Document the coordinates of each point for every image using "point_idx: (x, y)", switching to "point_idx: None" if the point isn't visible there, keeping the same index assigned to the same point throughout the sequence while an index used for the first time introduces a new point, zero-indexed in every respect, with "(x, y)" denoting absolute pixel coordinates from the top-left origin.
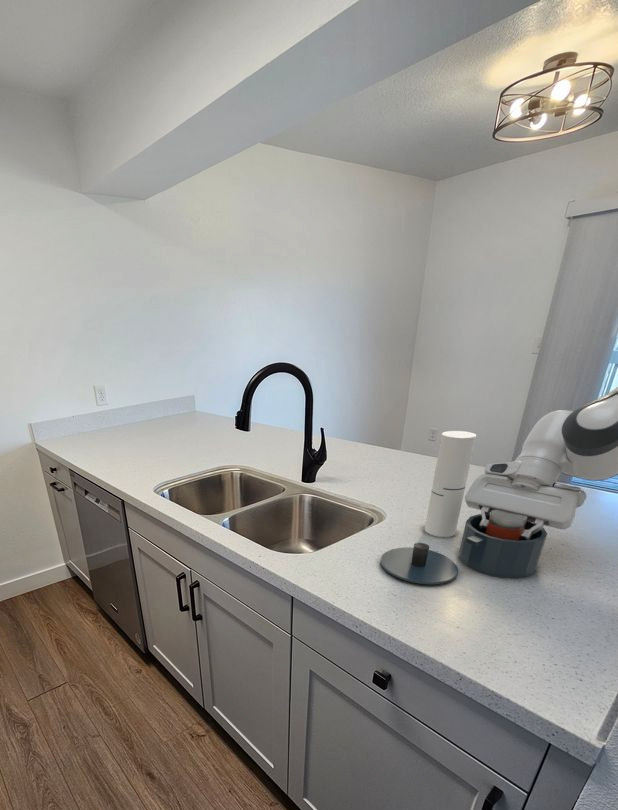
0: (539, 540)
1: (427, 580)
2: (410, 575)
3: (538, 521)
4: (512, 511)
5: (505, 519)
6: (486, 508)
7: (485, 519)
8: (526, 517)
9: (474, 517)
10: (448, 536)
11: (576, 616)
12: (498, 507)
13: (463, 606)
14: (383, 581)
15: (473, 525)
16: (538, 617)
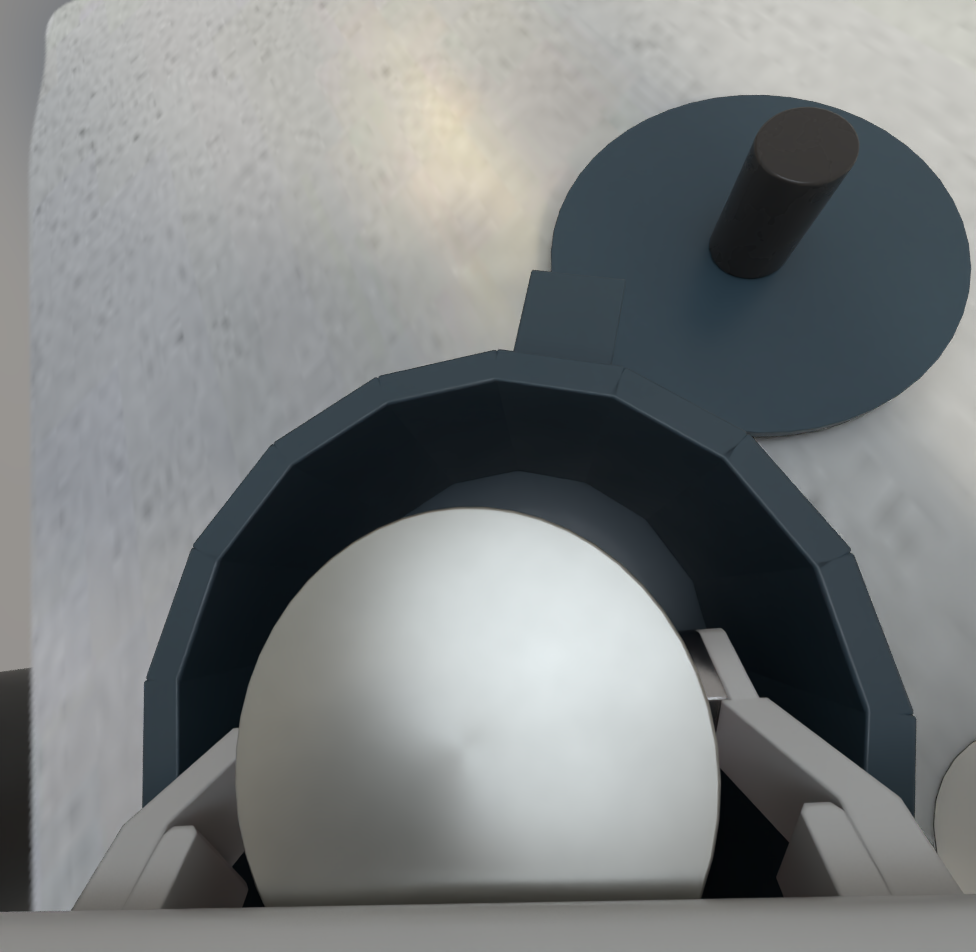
0: (171, 609)
1: (611, 161)
2: (689, 138)
3: (142, 872)
4: (465, 909)
5: (425, 525)
6: (869, 867)
7: (720, 693)
8: (250, 820)
9: (867, 726)
10: (941, 791)
11: (120, 414)
12: (703, 909)
13: (428, 172)
14: (742, 75)
15: (804, 715)
16: (217, 306)
